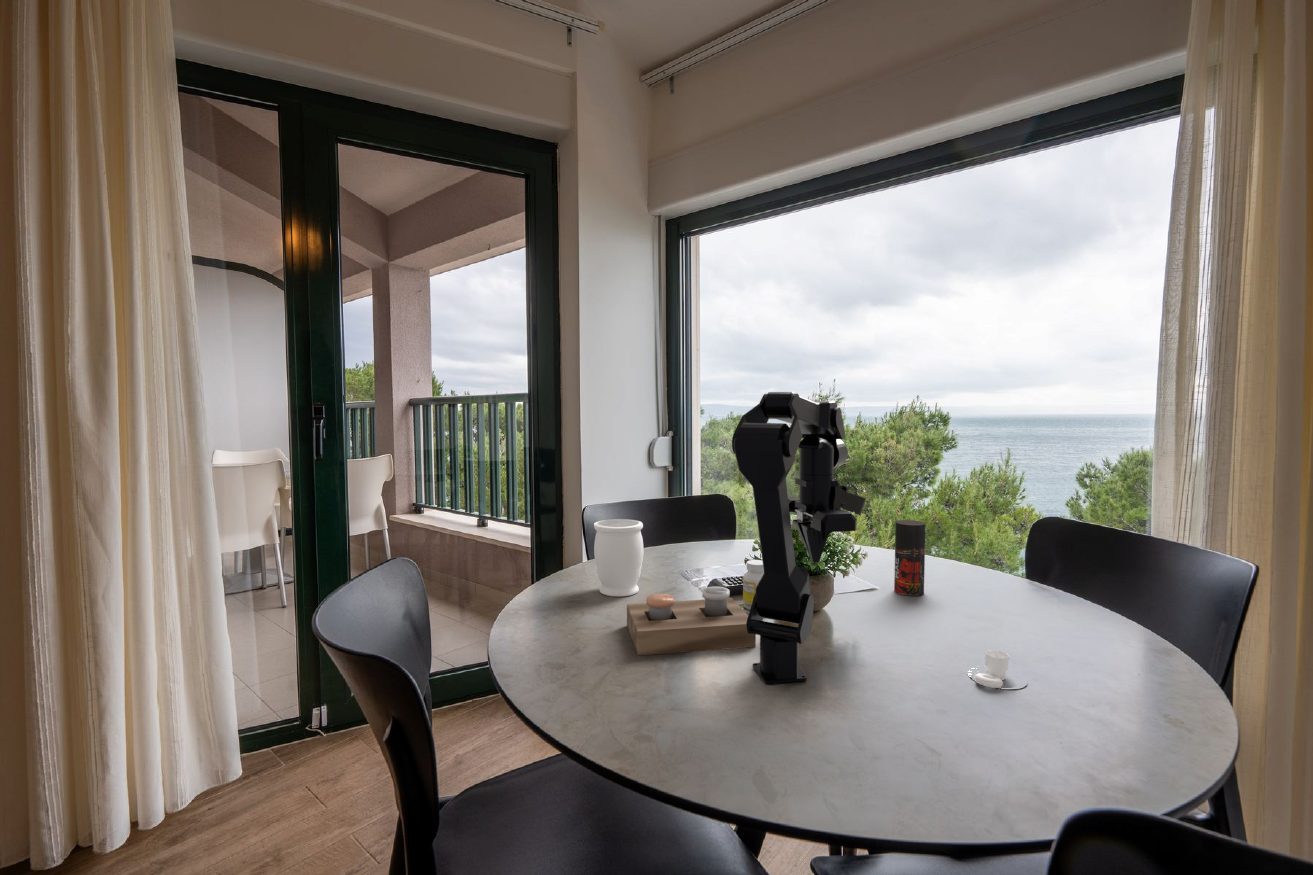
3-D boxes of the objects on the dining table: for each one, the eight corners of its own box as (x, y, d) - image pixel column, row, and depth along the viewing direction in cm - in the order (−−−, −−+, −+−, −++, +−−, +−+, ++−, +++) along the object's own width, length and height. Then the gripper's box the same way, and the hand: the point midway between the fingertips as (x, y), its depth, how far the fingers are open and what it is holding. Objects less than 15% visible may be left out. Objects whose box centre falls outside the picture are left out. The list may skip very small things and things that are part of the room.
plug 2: (732, 616, 113) (732, 593, 112) (706, 618, 112) (706, 595, 112) (725, 607, 117) (725, 585, 117) (699, 609, 117) (699, 587, 116)
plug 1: (676, 624, 111) (676, 601, 111) (648, 625, 110) (648, 602, 110) (671, 614, 116) (671, 592, 115) (644, 616, 115) (644, 594, 115)
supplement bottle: (769, 607, 129) (770, 558, 128) (772, 616, 124) (772, 566, 123) (742, 606, 129) (742, 558, 129) (743, 615, 124) (743, 565, 123)
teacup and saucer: (990, 697, 91) (991, 668, 91) (950, 673, 99) (951, 647, 99) (1040, 689, 94) (1041, 661, 93) (998, 667, 101) (998, 641, 101)
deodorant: (888, 589, 140) (889, 521, 139) (908, 586, 143) (909, 519, 142) (909, 597, 135) (910, 526, 134) (930, 593, 137) (931, 523, 136)
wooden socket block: (755, 646, 109) (755, 623, 109) (637, 655, 105) (637, 631, 105) (731, 618, 123) (731, 597, 122) (626, 625, 119) (626, 604, 119)
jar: (587, 596, 137) (586, 526, 136) (605, 582, 146) (604, 517, 145) (634, 600, 133) (634, 528, 133) (649, 586, 143) (649, 519, 142)
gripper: (887, 478, 104) (886, 574, 105) (835, 466, 123) (834, 547, 124) (822, 480, 102) (821, 577, 103) (779, 467, 121) (779, 550, 122)
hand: (815, 562), depth 113 cm, fingers closed
